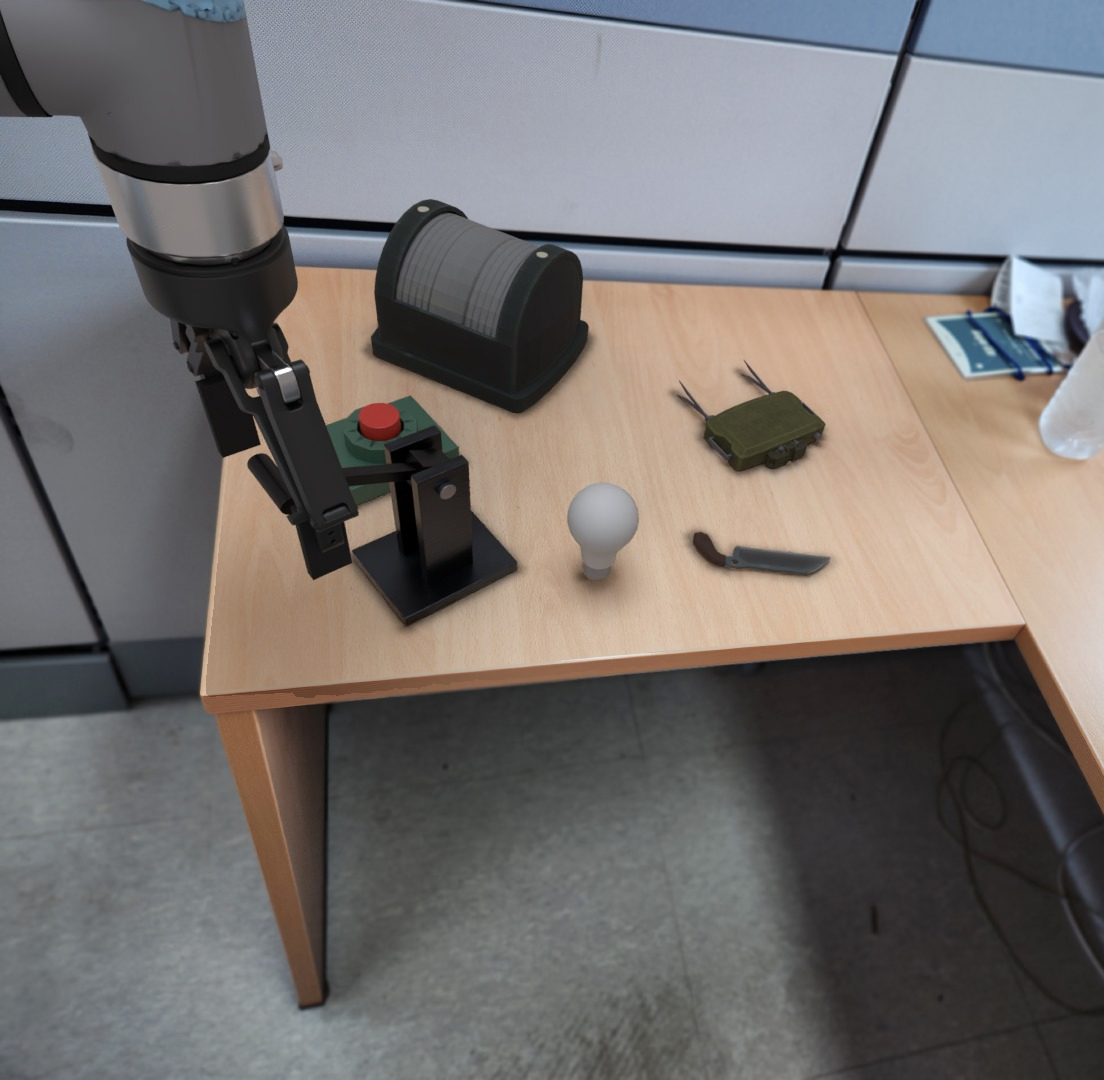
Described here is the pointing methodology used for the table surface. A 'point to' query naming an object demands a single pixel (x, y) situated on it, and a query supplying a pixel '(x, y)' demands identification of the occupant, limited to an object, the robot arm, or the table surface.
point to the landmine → (761, 428)
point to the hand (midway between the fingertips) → (283, 505)
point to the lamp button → (379, 422)
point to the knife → (759, 558)
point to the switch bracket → (431, 537)
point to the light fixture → (477, 307)
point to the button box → (379, 443)
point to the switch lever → (355, 476)
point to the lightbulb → (602, 526)
